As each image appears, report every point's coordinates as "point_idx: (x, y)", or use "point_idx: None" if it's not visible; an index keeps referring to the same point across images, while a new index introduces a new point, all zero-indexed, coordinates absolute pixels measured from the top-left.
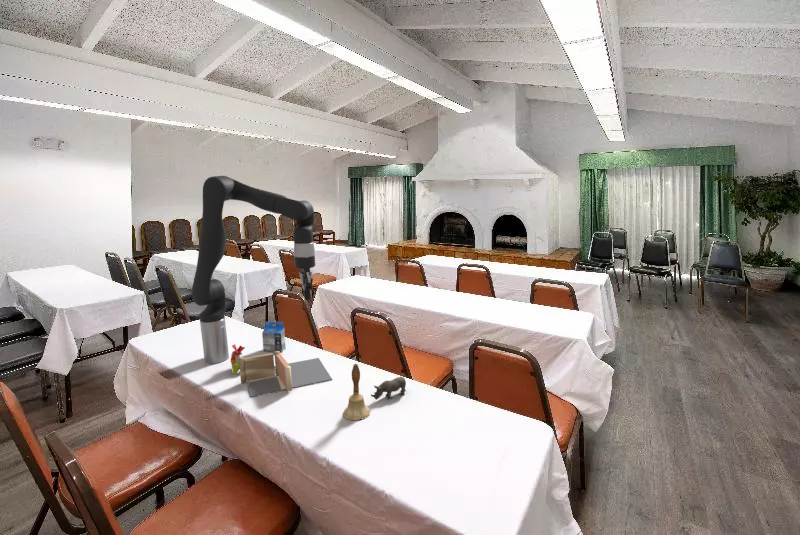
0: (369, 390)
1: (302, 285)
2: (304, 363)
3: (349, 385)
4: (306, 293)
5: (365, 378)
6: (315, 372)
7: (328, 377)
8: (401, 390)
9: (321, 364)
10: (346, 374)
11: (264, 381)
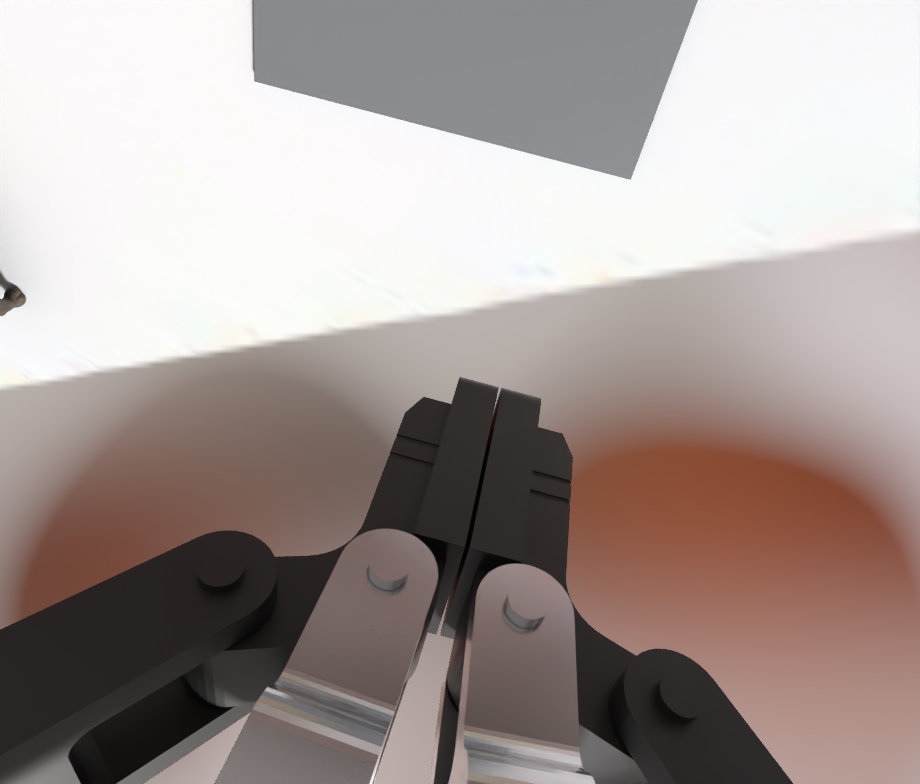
0: (59, 183)
1: (620, 700)
2: (618, 36)
3: (148, 129)
4: (376, 494)
5: (197, 244)
6: (409, 32)
7: (286, 72)
8: (10, 290)
9: (508, 138)
10: (291, 193)
11: None
